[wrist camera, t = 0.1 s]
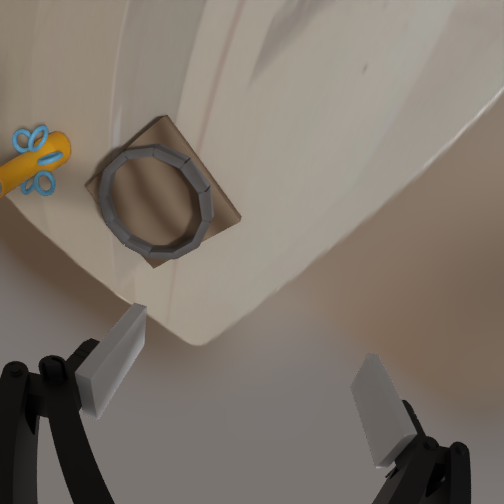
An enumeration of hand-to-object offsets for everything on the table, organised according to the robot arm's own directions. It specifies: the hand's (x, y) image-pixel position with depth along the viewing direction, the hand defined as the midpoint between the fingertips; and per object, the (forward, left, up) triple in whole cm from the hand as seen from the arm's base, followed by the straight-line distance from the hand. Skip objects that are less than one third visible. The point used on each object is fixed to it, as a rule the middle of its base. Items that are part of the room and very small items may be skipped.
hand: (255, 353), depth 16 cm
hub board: (+17, -6, -28) cm, 33 cm away
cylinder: (+27, -24, -28) cm, 46 cm away
